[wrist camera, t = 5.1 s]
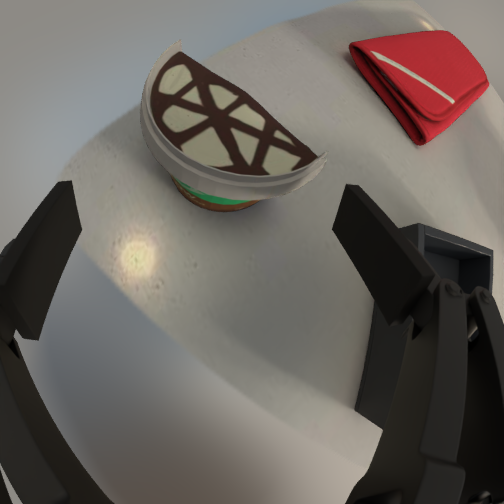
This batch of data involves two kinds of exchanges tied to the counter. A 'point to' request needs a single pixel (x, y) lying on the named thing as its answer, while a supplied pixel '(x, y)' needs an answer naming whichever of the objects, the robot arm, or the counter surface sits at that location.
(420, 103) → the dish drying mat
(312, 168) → the halved ice cream tub
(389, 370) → the bin
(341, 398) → the counter surface
